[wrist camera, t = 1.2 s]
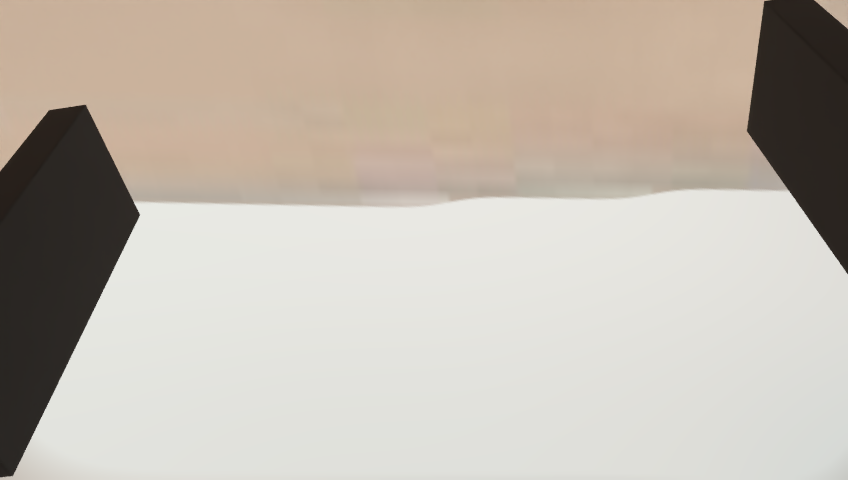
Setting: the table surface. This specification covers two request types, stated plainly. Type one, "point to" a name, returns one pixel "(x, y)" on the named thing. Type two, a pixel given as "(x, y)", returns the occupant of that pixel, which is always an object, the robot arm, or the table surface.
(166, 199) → the table surface
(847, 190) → the robot arm
